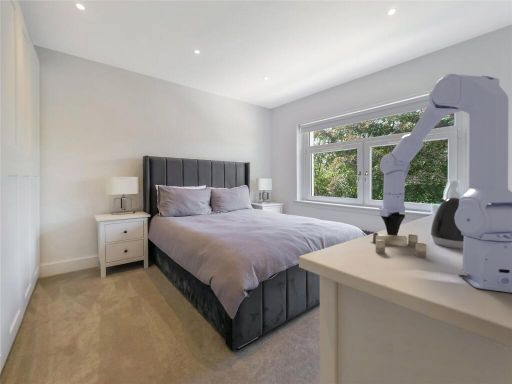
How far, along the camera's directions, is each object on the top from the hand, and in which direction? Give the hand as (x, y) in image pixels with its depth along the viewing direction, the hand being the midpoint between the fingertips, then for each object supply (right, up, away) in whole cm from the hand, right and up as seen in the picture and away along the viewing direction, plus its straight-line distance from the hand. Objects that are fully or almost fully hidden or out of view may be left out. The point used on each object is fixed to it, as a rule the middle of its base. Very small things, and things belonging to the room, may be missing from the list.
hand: (392, 236), depth 73 cm
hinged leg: (-4, -1, -4) cm, 6 cm away
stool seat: (-5, -3, -9) cm, 11 cm away
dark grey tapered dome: (+15, -3, -5) cm, 16 cm away
